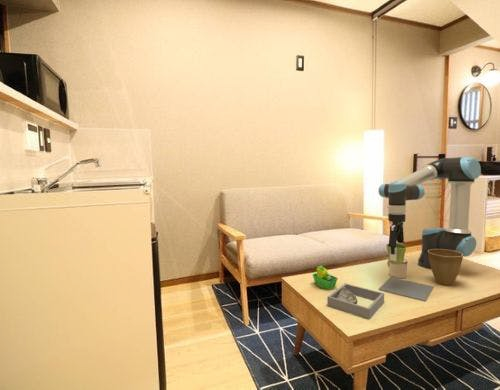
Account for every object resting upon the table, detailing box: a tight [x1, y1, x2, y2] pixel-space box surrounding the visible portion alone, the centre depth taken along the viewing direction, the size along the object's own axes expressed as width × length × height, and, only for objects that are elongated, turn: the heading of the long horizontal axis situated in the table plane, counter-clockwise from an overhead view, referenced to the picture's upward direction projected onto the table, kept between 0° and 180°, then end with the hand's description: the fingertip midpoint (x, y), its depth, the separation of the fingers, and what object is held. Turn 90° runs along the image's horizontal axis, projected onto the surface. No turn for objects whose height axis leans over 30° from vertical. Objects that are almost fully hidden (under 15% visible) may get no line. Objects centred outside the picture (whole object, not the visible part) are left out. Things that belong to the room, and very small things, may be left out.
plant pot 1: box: [385, 243, 408, 265], centre depth 140 cm, size 9×9×9 cm
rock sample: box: [337, 287, 358, 305], centre depth 125 cm, size 10×8×9 cm
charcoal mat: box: [378, 276, 435, 302], centre depth 139 cm, size 20×20×1 cm
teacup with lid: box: [386, 258, 408, 279], centre depth 157 cm, size 12×9×12 cm
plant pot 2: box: [428, 249, 464, 286], centre depth 145 cm, size 15×15×16 cm
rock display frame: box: [326, 283, 385, 320], centre depth 125 cm, size 19×18×4 cm
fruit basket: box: [312, 265, 338, 291], centre depth 144 cm, size 11×9×11 cm
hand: (396, 257), depth 140 cm, fingers closed on plant pot 1, 9 cm apart
